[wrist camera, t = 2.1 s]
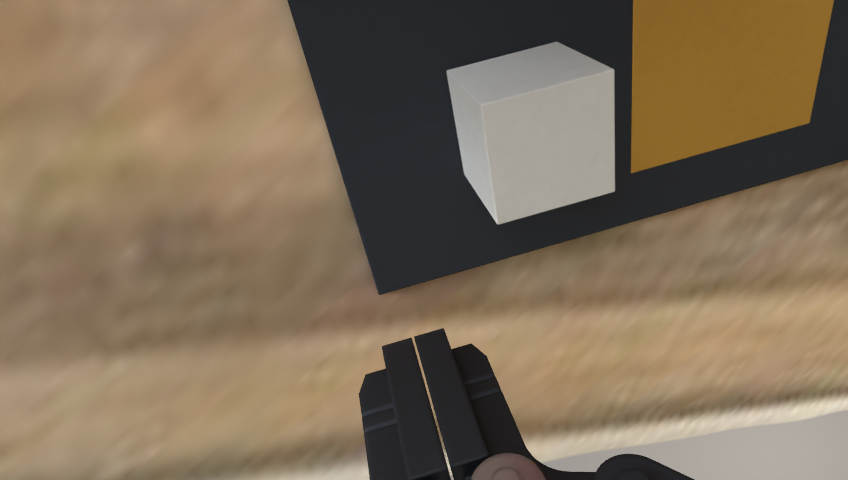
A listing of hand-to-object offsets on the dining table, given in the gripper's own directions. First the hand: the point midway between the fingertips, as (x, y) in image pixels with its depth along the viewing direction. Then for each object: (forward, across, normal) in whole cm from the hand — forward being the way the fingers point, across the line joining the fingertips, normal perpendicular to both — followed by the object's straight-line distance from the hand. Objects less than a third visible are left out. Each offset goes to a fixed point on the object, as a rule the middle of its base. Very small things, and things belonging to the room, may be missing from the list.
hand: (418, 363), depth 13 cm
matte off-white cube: (+14, -7, 0) cm, 15 cm away
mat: (+14, -13, 0) cm, 19 cm away
